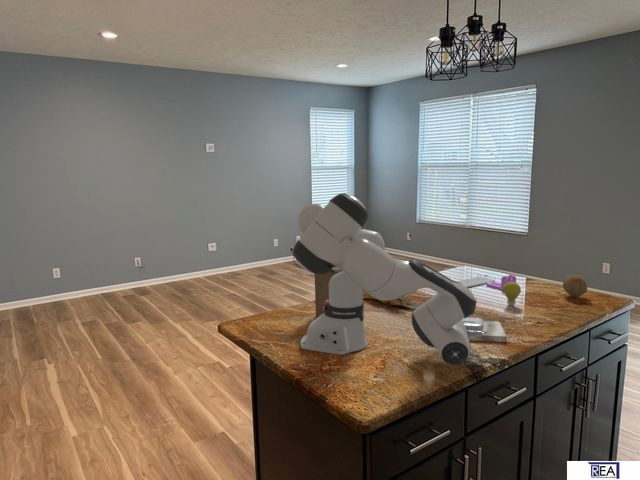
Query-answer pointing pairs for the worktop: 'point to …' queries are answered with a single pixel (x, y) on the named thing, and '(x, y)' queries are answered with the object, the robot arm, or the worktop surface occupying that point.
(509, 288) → the light bulb
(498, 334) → the birch board
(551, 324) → the worktop surface
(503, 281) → the bracket
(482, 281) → the baseboard molding
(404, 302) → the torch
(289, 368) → the worktop surface
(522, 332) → the worktop surface
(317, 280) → the wooden block
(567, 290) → the natural sponge
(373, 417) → the worktop surface
